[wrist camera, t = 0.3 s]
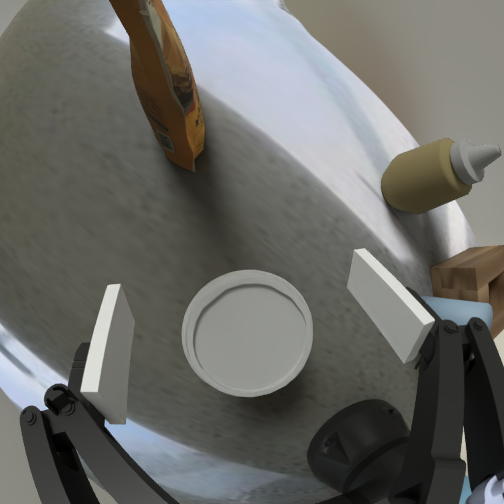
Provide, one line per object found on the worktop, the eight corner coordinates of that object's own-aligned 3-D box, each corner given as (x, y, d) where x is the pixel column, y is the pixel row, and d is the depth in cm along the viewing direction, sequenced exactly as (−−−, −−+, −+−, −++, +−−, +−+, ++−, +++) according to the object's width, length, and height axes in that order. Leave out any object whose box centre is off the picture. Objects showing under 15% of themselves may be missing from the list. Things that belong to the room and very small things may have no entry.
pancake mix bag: (160, 195, 29) (20, -36, 1) (135, 72, 29) (91, -99, 1) (218, 178, 30) (266, -94, 2) (182, 59, 30) (180, -120, 2)
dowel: (417, 316, 33) (492, 332, 19) (397, 326, 33) (474, 349, 19) (413, 289, 33) (492, 297, 19) (393, 299, 33) (473, 312, 19)
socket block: (476, 312, 36) (513, 318, 27) (437, 341, 34) (478, 353, 25) (470, 247, 36) (509, 244, 27) (429, 267, 34) (475, 267, 25)
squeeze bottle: (368, 160, 33) (463, 100, 15) (410, 164, 34) (501, 120, 16) (378, 219, 33) (490, 189, 15) (420, 217, 34) (522, 194, 16)
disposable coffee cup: (252, 366, 29) (276, 419, 18) (176, 327, 28) (156, 365, 17) (293, 293, 31) (342, 310, 19) (218, 251, 30) (224, 242, 18)
